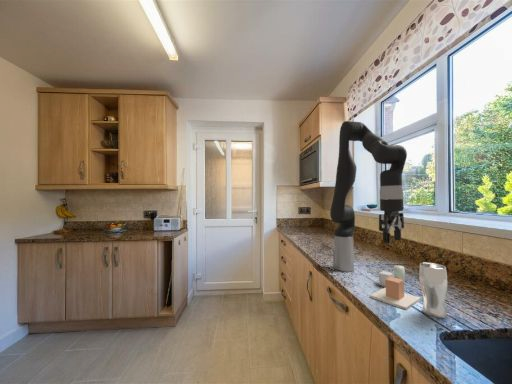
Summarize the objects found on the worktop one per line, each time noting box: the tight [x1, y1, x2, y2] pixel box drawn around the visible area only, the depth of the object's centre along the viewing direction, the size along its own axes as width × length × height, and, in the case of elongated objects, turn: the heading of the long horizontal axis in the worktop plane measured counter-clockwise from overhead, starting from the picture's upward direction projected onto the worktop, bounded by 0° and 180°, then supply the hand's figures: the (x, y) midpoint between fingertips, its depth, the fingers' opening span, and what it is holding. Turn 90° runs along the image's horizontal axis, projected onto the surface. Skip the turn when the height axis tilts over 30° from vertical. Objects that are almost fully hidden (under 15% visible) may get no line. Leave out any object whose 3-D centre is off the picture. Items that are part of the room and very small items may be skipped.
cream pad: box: [369, 286, 422, 311], centre depth 82 cm, size 12×12×1 cm
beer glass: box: [419, 262, 448, 319], centre depth 71 cm, size 7×7×15 cm
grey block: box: [378, 270, 394, 287], centre depth 95 cm, size 4×4×5 cm
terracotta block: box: [385, 276, 405, 300], centre depth 82 cm, size 4×4×6 cm
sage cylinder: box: [393, 265, 406, 283], centre depth 100 cm, size 4×4×6 cm
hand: (392, 241), depth 84 cm, fingers open, 8 cm apart
